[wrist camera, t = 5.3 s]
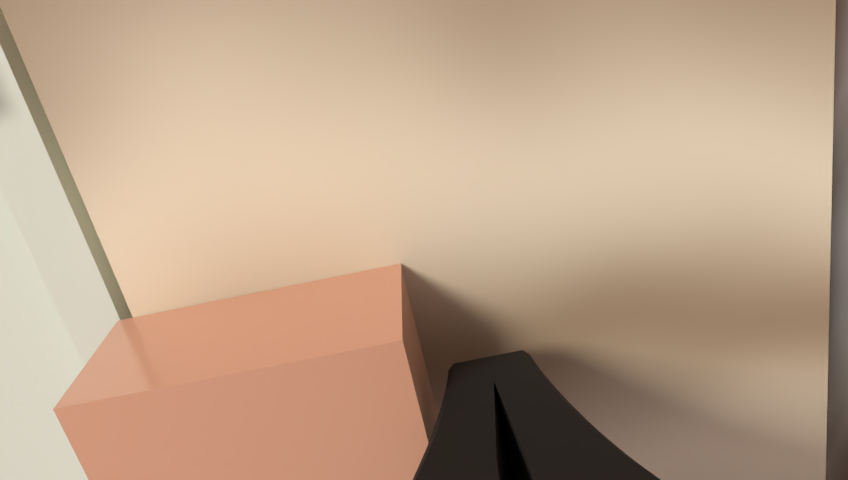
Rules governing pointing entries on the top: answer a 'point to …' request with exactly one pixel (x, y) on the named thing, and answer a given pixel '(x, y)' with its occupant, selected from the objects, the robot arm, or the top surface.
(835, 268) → the top surface
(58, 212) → the tray
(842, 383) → the top surface
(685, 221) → the board
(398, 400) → the block
